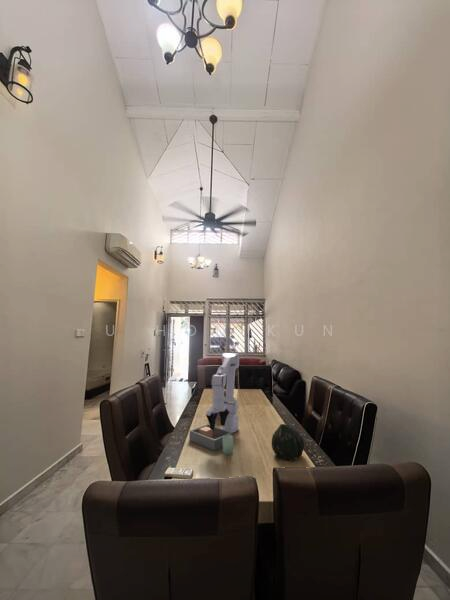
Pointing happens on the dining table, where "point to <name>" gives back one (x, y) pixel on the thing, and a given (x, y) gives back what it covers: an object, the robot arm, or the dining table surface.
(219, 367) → the robot arm
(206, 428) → the terracotta cube
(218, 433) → the tray
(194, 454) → the dining table surface
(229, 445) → the sage cylinder
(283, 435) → the squash
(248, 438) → the dining table surface
